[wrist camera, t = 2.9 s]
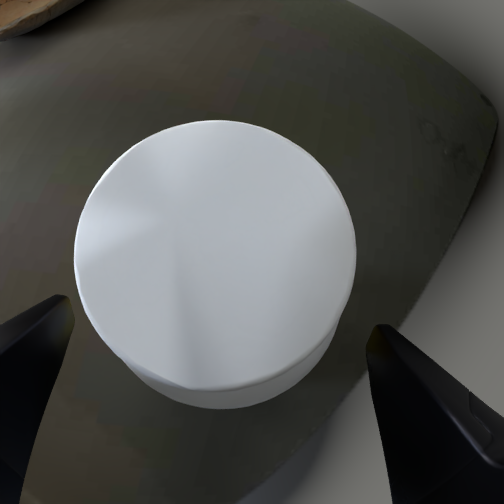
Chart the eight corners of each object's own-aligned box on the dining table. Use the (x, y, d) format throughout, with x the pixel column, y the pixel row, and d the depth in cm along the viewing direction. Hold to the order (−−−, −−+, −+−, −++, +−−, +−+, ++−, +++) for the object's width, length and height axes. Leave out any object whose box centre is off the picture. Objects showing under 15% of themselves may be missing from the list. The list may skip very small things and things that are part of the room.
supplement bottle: (240, 235, 18) (263, 48, 6) (308, 329, 17) (469, 282, 5) (143, 298, 17) (-5, 195, 5) (208, 398, 16) (161, 519, 3)
